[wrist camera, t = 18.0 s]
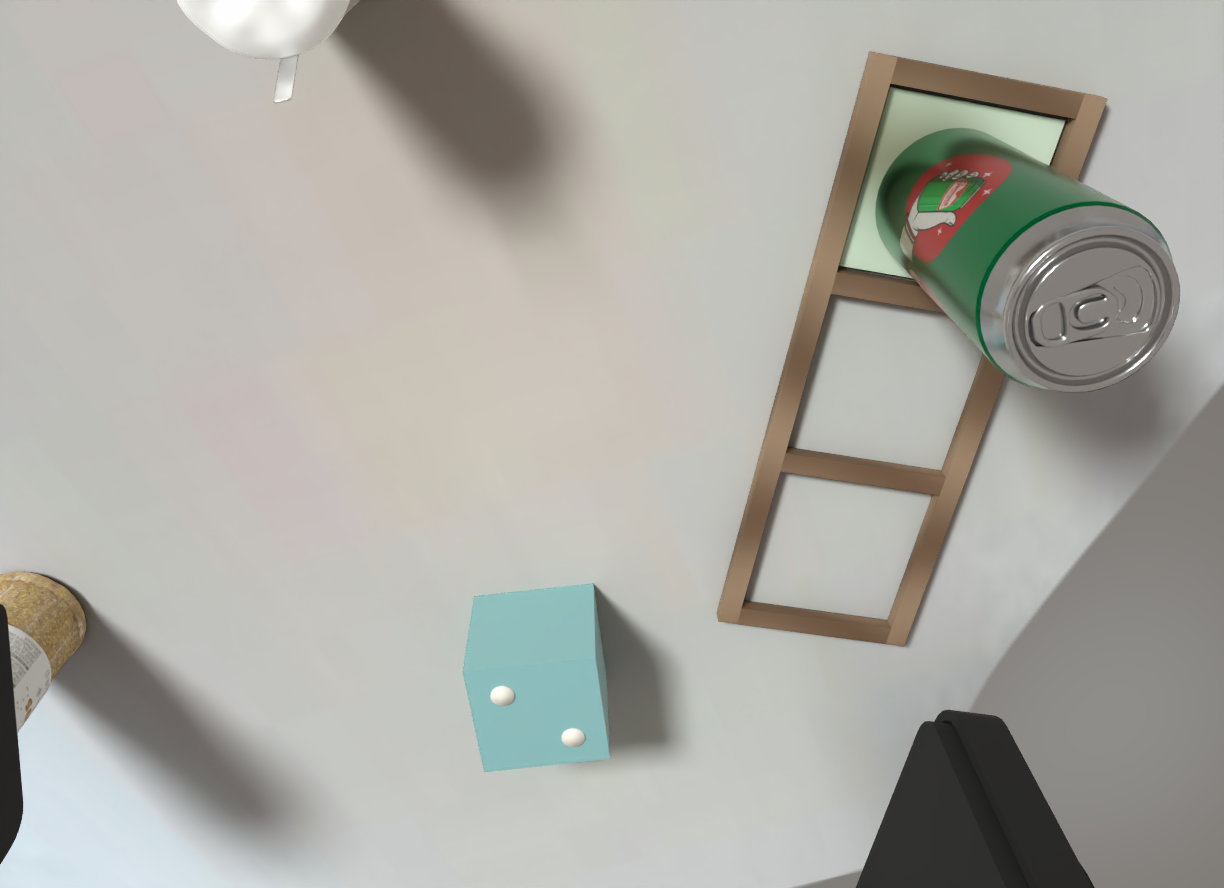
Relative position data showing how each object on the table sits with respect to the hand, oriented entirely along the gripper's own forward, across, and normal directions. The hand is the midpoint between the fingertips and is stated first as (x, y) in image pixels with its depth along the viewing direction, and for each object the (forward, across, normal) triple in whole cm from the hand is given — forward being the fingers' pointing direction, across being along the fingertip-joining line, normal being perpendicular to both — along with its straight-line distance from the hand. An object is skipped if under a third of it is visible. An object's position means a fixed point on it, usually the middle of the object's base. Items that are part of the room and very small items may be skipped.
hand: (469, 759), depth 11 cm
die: (+28, -3, +19) cm, 35 cm away
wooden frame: (+28, -14, +6) cm, 32 cm away
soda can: (+28, -14, -2) cm, 32 cm away
